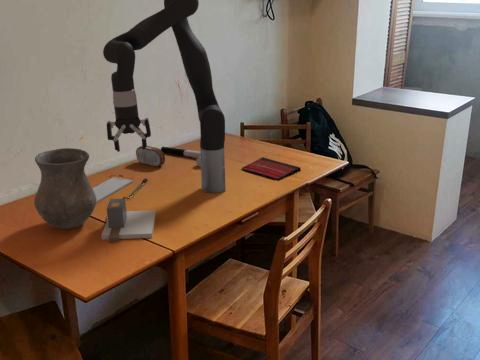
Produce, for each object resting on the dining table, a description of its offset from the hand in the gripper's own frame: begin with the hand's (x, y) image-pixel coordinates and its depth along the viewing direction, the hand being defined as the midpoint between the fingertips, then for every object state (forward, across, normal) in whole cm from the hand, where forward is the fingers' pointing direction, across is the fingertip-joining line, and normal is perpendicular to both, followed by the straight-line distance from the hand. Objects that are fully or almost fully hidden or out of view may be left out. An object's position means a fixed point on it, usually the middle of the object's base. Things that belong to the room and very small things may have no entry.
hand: (131, 150), depth 186 cm
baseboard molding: (+24, +17, -21) cm, 36 cm away
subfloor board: (+24, +2, +10) cm, 26 cm away
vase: (+23, +23, +6) cm, 33 cm away
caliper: (+24, +1, -22) cm, 33 cm away
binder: (+27, -53, -37) cm, 70 cm away
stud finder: (+22, +6, +10) cm, 25 cm away
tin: (+24, -2, -52) cm, 57 cm away
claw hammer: (+26, -20, -62) cm, 70 cm away
